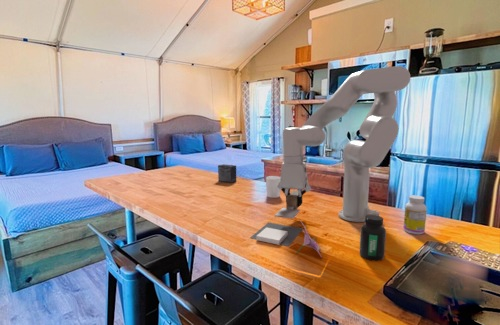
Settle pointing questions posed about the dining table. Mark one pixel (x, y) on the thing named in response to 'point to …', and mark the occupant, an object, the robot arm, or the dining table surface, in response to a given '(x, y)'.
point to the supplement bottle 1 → (372, 238)
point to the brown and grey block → (289, 206)
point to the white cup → (273, 186)
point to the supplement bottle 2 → (415, 215)
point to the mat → (291, 231)
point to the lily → (309, 241)
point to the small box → (227, 173)
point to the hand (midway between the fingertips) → (294, 204)
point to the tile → (272, 236)
